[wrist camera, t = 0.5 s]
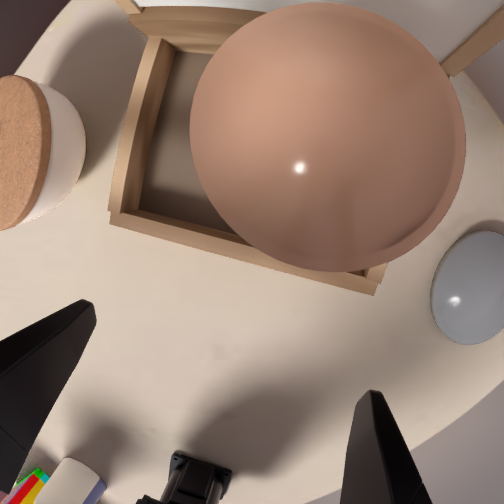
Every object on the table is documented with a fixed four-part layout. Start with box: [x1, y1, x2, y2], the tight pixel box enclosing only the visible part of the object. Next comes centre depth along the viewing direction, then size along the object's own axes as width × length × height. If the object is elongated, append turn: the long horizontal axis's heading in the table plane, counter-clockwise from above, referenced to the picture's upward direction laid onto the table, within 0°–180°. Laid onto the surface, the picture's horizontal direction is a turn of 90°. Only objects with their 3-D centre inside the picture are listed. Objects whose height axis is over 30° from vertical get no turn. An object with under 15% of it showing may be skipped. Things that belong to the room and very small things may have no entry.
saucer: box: [430, 230, 504, 345], centre depth 20 cm, size 9×9×1 cm
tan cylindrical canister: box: [189, 2, 466, 272], centre depth 13 cm, size 7×7×14 cm
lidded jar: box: [0, 75, 86, 231], centre depth 18 cm, size 11×11×9 cm
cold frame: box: [108, 6, 450, 296], centre depth 18 cm, size 14×18×6 cm
